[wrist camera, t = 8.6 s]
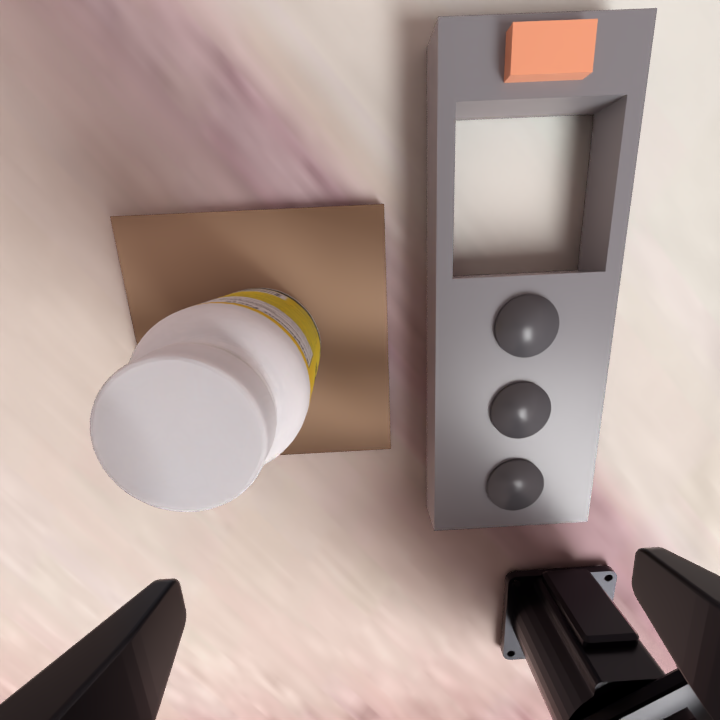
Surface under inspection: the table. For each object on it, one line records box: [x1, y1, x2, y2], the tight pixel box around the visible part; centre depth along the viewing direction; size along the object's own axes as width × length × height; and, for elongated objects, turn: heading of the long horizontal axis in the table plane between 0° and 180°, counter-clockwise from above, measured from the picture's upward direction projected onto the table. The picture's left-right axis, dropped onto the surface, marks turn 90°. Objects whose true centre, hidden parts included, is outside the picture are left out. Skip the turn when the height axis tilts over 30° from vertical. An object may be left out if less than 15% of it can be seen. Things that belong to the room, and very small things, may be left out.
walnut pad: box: [110, 204, 391, 455], centre depth 18 cm, size 12×12×1 cm
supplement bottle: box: [90, 288, 321, 512], centre depth 13 cm, size 5×5×10 cm
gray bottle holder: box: [427, 8, 657, 531], centre depth 17 cm, size 22×8×3 cm, turn 3°
